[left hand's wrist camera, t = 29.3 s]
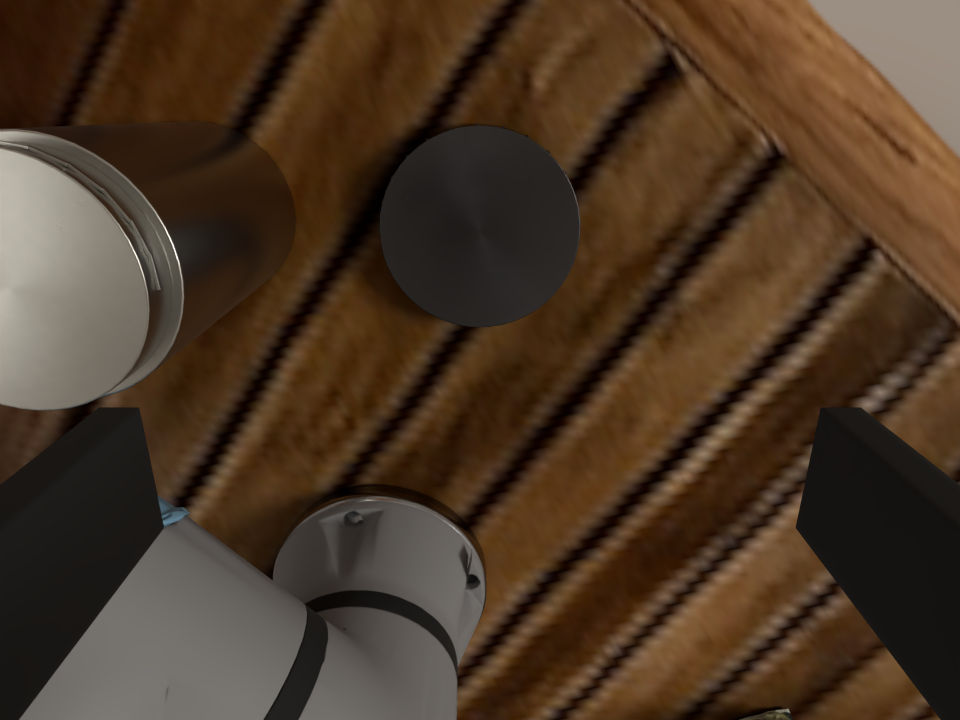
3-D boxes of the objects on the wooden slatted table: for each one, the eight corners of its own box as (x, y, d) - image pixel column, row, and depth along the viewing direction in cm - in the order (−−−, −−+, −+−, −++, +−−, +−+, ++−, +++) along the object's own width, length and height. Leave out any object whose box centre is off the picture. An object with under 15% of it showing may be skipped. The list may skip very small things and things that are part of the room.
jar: (246, 93, 36) (53, 80, 20) (323, 262, 40) (213, 369, 23) (89, 158, 38) (-215, 196, 21) (177, 316, 41) (-25, 455, 25)
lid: (384, 314, 41) (380, 325, 39) (381, 119, 37) (375, 119, 35) (567, 321, 41) (571, 331, 39) (584, 127, 37) (590, 128, 35)
